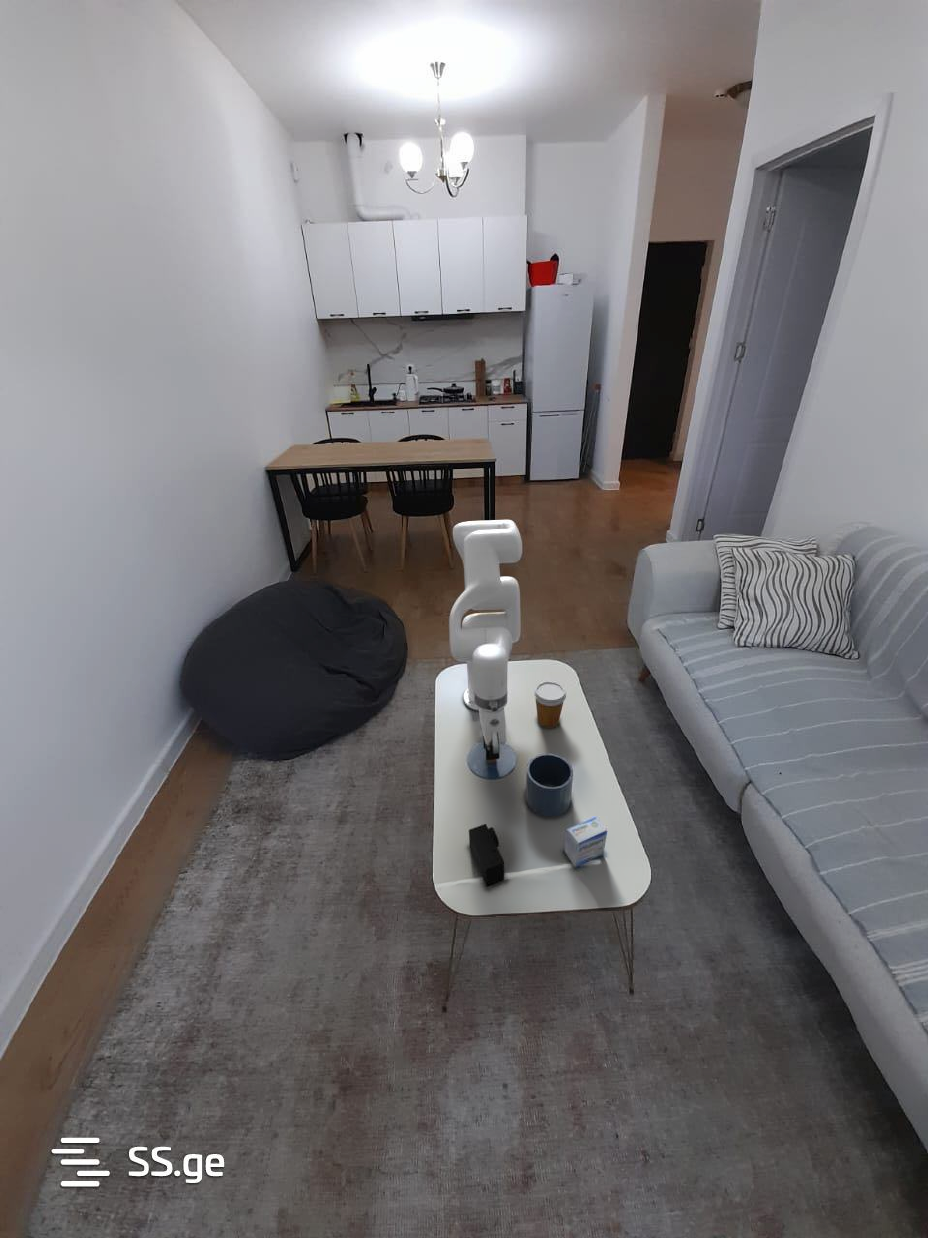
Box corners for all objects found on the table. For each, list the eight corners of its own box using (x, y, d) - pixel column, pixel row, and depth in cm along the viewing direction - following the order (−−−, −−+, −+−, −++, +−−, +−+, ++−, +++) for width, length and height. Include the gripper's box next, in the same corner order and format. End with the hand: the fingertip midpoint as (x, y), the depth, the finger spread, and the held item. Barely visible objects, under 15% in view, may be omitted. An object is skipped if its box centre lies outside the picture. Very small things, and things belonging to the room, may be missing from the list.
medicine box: (575, 868, 111) (578, 844, 107) (563, 852, 115) (566, 828, 110) (604, 854, 114) (608, 831, 109) (592, 839, 117) (595, 815, 113)
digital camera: (509, 879, 110) (509, 860, 106) (486, 888, 108) (486, 869, 104) (491, 840, 118) (490, 821, 114) (469, 848, 116) (468, 829, 113)
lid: (464, 746, 127) (462, 726, 123) (510, 740, 128) (510, 720, 124) (470, 784, 117) (469, 763, 113) (521, 778, 118) (522, 756, 114)
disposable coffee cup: (563, 733, 147) (566, 702, 141) (531, 730, 149) (532, 699, 143) (564, 712, 155) (567, 681, 149) (533, 709, 157) (535, 679, 151)
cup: (521, 784, 132) (522, 756, 126) (562, 779, 133) (565, 751, 127) (531, 820, 122) (533, 792, 117) (576, 814, 123) (579, 785, 118)
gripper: (514, 718, 105) (513, 777, 114) (500, 671, 118) (500, 727, 128) (479, 722, 104) (481, 781, 114) (469, 675, 118) (471, 731, 128)
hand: (491, 752), depth 121 cm, fingers closed on lid, 2 cm apart
